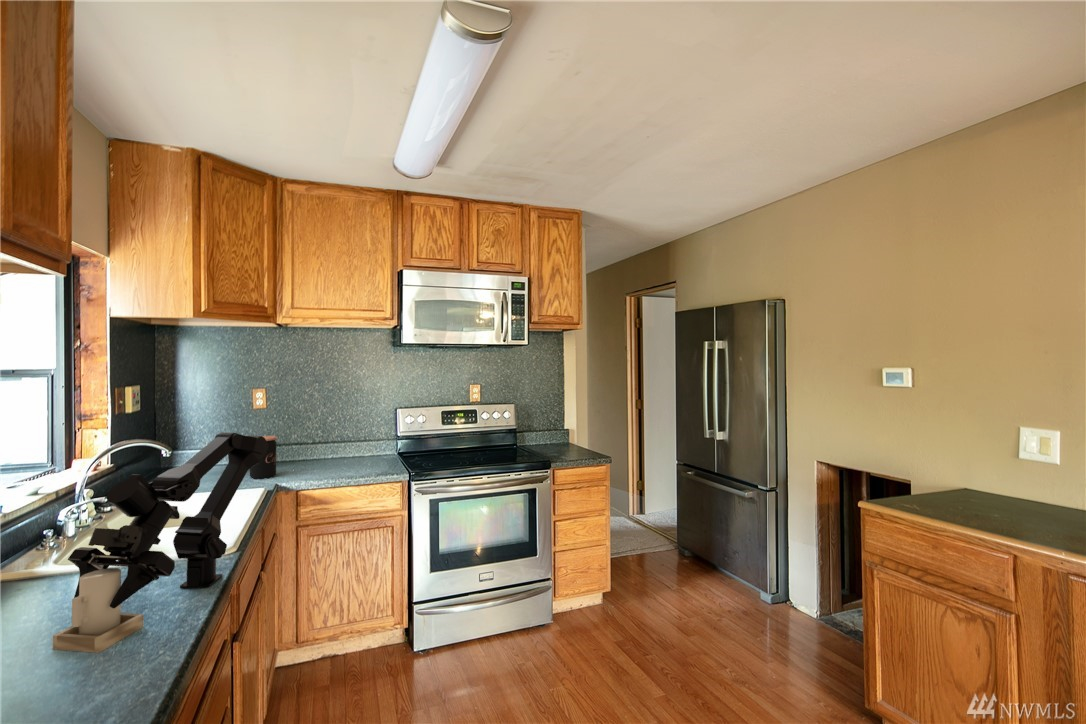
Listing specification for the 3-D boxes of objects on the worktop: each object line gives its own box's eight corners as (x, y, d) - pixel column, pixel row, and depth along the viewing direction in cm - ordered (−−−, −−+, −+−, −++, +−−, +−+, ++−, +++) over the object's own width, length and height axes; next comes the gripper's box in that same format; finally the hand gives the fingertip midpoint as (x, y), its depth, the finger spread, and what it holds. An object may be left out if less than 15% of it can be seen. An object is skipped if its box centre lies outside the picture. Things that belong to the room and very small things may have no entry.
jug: (100, 628, 101) (101, 567, 101) (128, 630, 101) (129, 569, 101) (59, 650, 94) (60, 584, 94) (89, 653, 93) (90, 586, 93)
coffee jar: (268, 479, 231) (268, 439, 231) (244, 479, 231) (244, 439, 231) (280, 474, 242) (281, 436, 242) (258, 474, 242) (258, 435, 242)
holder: (101, 624, 103) (101, 611, 103) (143, 627, 102) (143, 614, 102) (52, 649, 94) (52, 635, 94) (98, 652, 93) (98, 638, 93)
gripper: (77, 506, 103) (15, 586, 92) (163, 510, 101) (110, 591, 90) (114, 533, 111) (60, 609, 100) (194, 537, 109) (148, 615, 98)
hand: (93, 606), depth 97 cm, fingers open, 7 cm apart
